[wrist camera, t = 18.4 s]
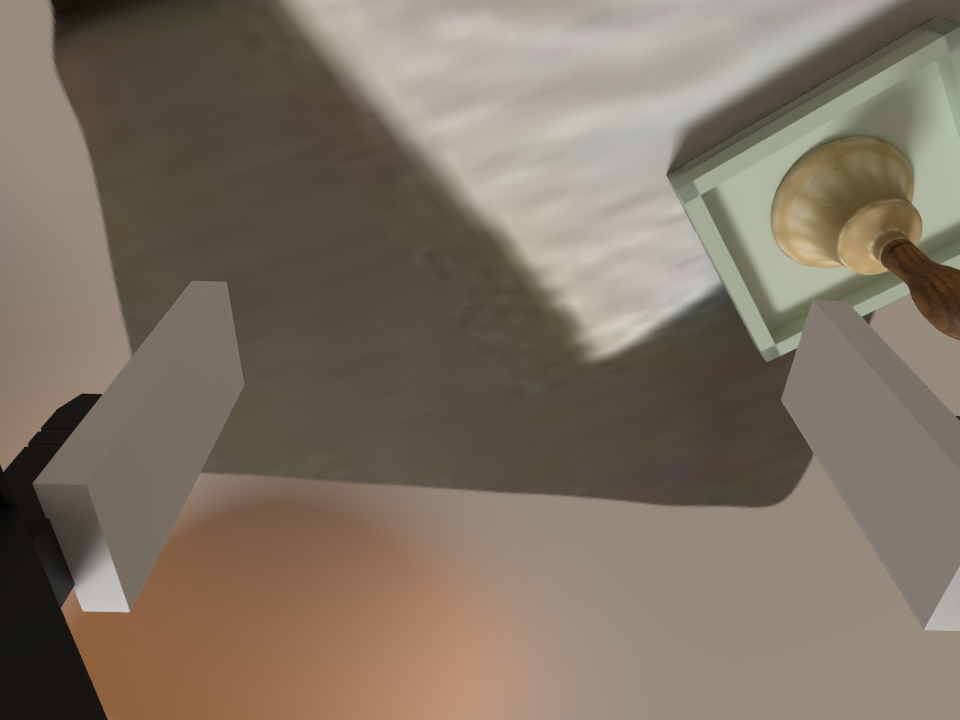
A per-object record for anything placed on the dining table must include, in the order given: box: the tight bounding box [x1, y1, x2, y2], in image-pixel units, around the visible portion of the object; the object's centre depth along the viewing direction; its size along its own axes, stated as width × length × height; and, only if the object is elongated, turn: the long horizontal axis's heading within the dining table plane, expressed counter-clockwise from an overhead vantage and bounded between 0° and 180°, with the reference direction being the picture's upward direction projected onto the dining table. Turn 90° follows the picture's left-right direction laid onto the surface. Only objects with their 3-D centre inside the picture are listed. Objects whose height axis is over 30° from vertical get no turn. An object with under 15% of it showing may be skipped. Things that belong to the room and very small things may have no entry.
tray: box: [667, 17, 960, 363], centre depth 43 cm, size 16×14×3 cm
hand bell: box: [771, 136, 960, 340], centre depth 36 cm, size 8×8×16 cm
